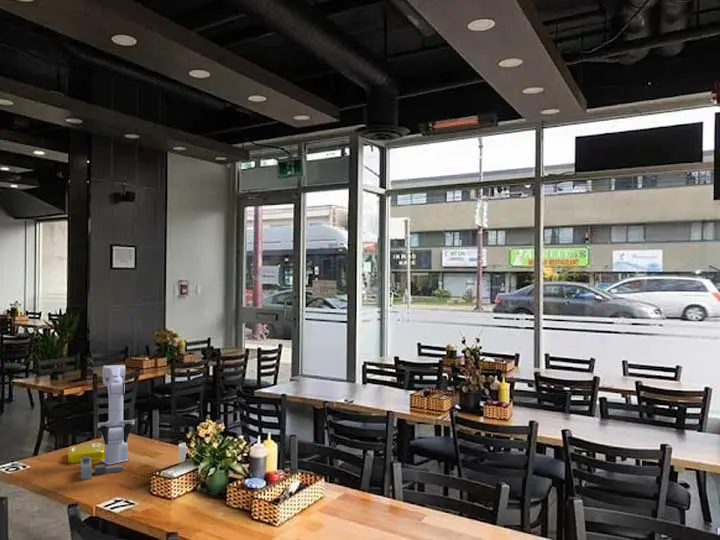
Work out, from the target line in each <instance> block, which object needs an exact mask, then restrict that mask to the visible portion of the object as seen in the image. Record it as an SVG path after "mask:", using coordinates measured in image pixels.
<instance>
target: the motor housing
mask: <svg viewBox="0 0 720 540" xmlns="http://www.w3.org/2000/svg"><path fill="white" fill-rule="evenodd" d="M92 469H93V465H92V461H91V458H89V456H83V459H81V462H80V471H79V472H80V480H82V481H84V480H91V479H92V478H93V477H92V476H93V471H92Z"/></svg>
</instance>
